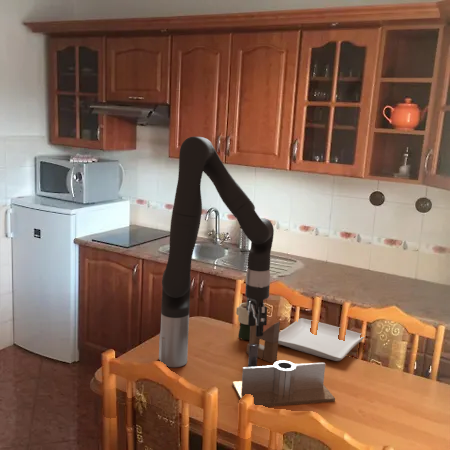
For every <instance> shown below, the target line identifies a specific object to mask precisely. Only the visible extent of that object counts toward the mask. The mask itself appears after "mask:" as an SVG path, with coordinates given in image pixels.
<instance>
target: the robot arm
mask: <svg viewBox="0 0 450 450" xmlns="http://www.w3.org/2000/svg"><path fill="white" fill-rule="evenodd" d="M178 156H179V157H178V158H179V159H178V175H177V176H178V177H177V183H176V189H175V195H174V202H173V206H172V212H171V217H170V218H171V219H170V227H169V250H168V251H169V252H168V259H167V262H166V266H165V270H164V271H163V274H162V277H161V287H162V288H161V291H162V292H161V307H160V308H161V311H160V332H159V343H158V348H159V349H158V360H160V361H161V362H163V363H164V364H166V365H167V366H168V367H167V366H166V367H167V368H180V367H183V366H185V365H187V363H188V357H189V356H188V351H189V350H188V349H189V346H188V345H189V329H190V328H189V325H190V308H191V307H190V305H191V303H190V301H191V300H190V299H191V298H190V297H191V284H192V283H191V280H192V279H191V278H192V277H191V270H192V260H193V259H192V258H193V254H194V251H195V246H196V243H197V239H198V235H199V230H200V225H201V222H202V221H201V220H202V214H203V213H202V212H203V203H202V202H203V201H202V200H203V199H202V193H201V192H202V191H201V182H202V176H203V173H204V174H205V175H206V176H207V177H208V178H209V180H210V181H211V183H212V184H213V186H214V187H215V190H216V192H217V193H218V195H219V197H220V199H221V201H222V202H223V204H224V206H226V208H227V209H228V210H229V212H230V213H231V215H233V217H234V218H235V219H236V220H237V222H238V224H239V226H240V228H241V230H242V232H243V234H244V236H246V238H247V239H248V240H249V241H250V242H251V244H250V249H249V252H248V254H247V268H246V269H247V270H246V275H245V291H244V292H245V293H244V295H245V296H246V303H247V306H246V310H247V311H248V314H249V316H248V325H249V326H254V325H255V319H256V336H257V337H259V336H263V332H264V326H267V324H268V323H267V322H268V306H266V305H265V303H264V300H267V299H268V298H269V297H270V287H271V285H270V284H271V252H272V247H273V241H274V235H275V234H274V233H275V232H274V231H275V229H274V225H273V223H272V221H270V220H269V219H267V218H260V216H259V215H258V213H257V212H256V207H255V205H254V202H252V200H251V199H250V198H249V197H248V195H247V194H246V193H245V191H244V190H243V189H242V188H241V186H240V185H239V183H237V182H236V179H234V178H233V176H232V175H231V174H230V172H229V170H228V169H227V168H226V166H225V164H224V163H223V161H222V160H221V158H220V156H219V154H218V152H217V150H216V149H215V147H214V145H213V143H212V141H210V140H209V139H208V138H205V137H202V136H189V137H187V138H186V139H185V140H184V141H183V142H182V144H180V148H179V155H178ZM256 314H258V315H256ZM160 361H159V362H160Z"/></svg>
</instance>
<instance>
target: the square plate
mask: <svg viewBox="0 0 450 450" xmlns="http://www.w3.org/2000/svg"><path fill="white" fill-rule="evenodd" d="M297 320H298V322H297ZM297 320H295V321H294V322H292V323H291V324H290V325H288V326H287V327H285V328H284V329H282V330H280V331H279V339H278V345H281V346H284V347H287V348H290V349H292V350H295V351H298V352H302V353H306V354H309V355H313V356H316V357H320V358H323V359H326V360H327V359H328V360H331V361H334V362H340V361H341V360H343V359H344V358H345V357H347V355H348V354H349V352H351V350H352V349H354V348H355V347H356V346H357V345H359V343H361V342H362V341H363V339H364V337H361V338H360V335H361V334H362V333H360V332H356V331H353V330H350V329H346V335H345V341H343V340H339V339H338V335H339V328H340V327H339V326H335V325H331V324H328V323H325V322H319V321H318V322H319V323H318V330H317V335H314V334H312V333H311V332H310V328H311V321H313V320H311V319H307V318H303V317H302V318H301V317H300V318H298V319H297Z"/></svg>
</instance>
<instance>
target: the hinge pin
mask: <svg viewBox="0 0 450 450" xmlns="http://www.w3.org/2000/svg"><path fill="white" fill-rule="evenodd" d="M257 355H258V345H257V344H250V345H249V354H248V361H247V367H258V357H257Z"/></svg>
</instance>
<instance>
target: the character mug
mask: <svg viewBox="0 0 450 450" xmlns="http://www.w3.org/2000/svg"><path fill="white" fill-rule="evenodd" d="M246 306H247V302H242V303H240V304H239V305H238V306H236V312H235V313H236V316H238V317H237V318H238V323H240V325H239V330H238V338H239V339H241V340H244V341H248V340H249V339H250V326H249V325H248V316H249V314H248V311H247V310H246Z"/></svg>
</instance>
